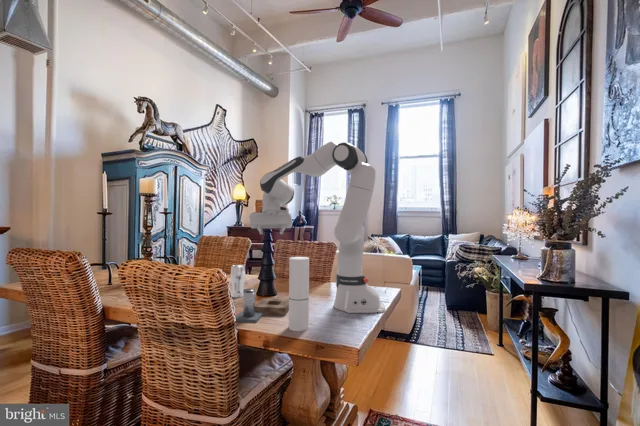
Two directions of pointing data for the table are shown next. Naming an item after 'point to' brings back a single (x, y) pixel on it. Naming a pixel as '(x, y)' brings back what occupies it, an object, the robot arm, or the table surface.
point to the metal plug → (249, 302)
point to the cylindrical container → (298, 293)
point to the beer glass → (237, 280)
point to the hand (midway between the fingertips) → (271, 233)
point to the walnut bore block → (273, 306)
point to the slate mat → (249, 319)
